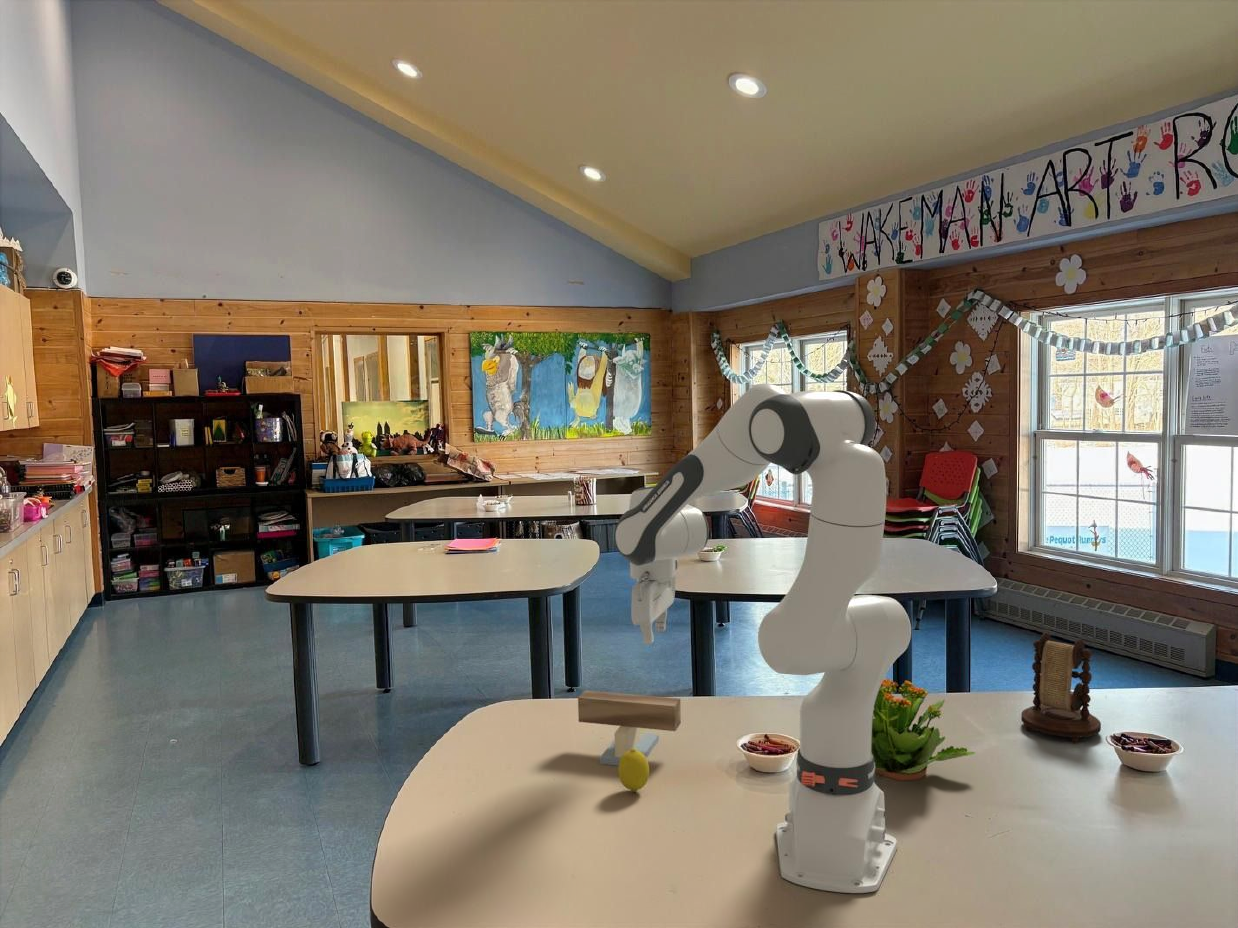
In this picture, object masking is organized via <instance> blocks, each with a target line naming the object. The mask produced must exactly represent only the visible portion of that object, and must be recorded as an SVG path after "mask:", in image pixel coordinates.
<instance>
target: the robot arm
mask: <svg viewBox="0 0 1238 928" xmlns="http://www.w3.org/2000/svg"><path fill="white" fill-rule="evenodd" d="M875 430H876V417H875V413H874V410H873V407H872V406H871V404H870V403H869V401H868V400H867V399H866V398H865V397H863V396H862V395H861V394H858V393H855V392H852V391H847V390H843V389H842V390H841V389H839V390H831V391H830V390H829V391H828V390H827V391H826V390H814V389H813V390H811V389H809V390H803V391H797V392H796V391H795V392H791V393H789V392H787V391H786V390H784V389H783V388H781V387H780V386H778V385H775V384H772V383H759V384H755V385H753V386H750V388H748V389H747V390H746V391H745V392H744V393H743V394H741V396H740V397H738V399H737V400H735V402H734V403H733V404H732V405H731V406H730V407H729V408H728V410H727V411H726V412H725V413H724V414H723V416H722V417H721V419H720V420H719V422H718V423H717V424H716V426H715V427H714V428H713V430H712V431H710V433H708V435H707V436H706V437H705V438H704V439H703V440H702V441H701V442H700V443H699V444H698V445H697V446H696V447H695V448H693V450H691V451H690V452H689V453H688V454H687V455H685V456H684V457H682V458H681V459H680V460H679V461H677V463H675V464H674V465H673V466H672V467H671V468H670V469H669V470H668V471H667V473H665V475H663V477H662V478H661V479H660V480H659V481H658V483H656V485H652V486H647V487H646V486H645V487H639V488H637V489H635V490H634V491H633V492H632V493H631V495H630V498H629V499H630V500H629V505H628V506H629V507H628V510H626V511H625V512H624V513H623V514H622V515H621V517H620V518H619V520H618V522H617V524H616V526H615V530H614V544H615V547H616V549H617V551H618V552H619V554H620V555H621V556H622V557H623V558H624V559H625V560H626V561H627V562H629V566H630V568H629V569H630V571H629V573H630V574H629V576H630V578H631V579H633V580H636V583H635V584H634V585H633V586H632V590H631V611H630V612H631V613H630V614H631V615H630V617H631V621H632V624H633V625H634V626H639V628H640V630H641V631H640V632H641V634H642V635H641V636H642V643H643V644H644V645H651V644H652V643H654V640H655V638H654V636H655V635H654V633H653V626H654V627H655V629H654V630H655V632H660V633H662V632H664V631H666V628H667V627H666V626H667V625H666V624H667V623H666V620H667V616H668V608H669V607H671V605H673V604H674V601H675V595H676V579H677V578H676V571H678V568H679V563H678V562H679V561H678V559H677V558H683V557H688V556H693V555H696V554H699V553H701V552H702V551H703V550H704V549H705V547H706V545H707V544H708V540H709V538H710V537H709V535H710V527H709V526H710V525H709V522H708V519H707V517H706V515H705V514H704V512H703V511H702V510H701V509H700V508H698V507H697V506H694V505H690V504H691V503H692V502H694V501H695V500H698V499H700V498H702V497H706V496H708V495H713V494H716V493H720V492H723V491H729V490H733V489H737V488H741V487H744V486H746V485H748V484H750V483H751V482H752V481H754V480H755V479H757V478H758V477H759V476H760V475H761V474H762V473H763V472H764V471H765V470H766V469H767V468H768V466H769V465H770V464H773V465H776V466H779V467H781V468H783V469H784V470H786V472H788V473H790V474H792V475H800V474H803V473H804V472H806V473H807V474H808V475H809V478H810V480H811V484H812V485H811V486H812V491H811V492H812V494H811V495H812V496H811V502H810V503H811V504H810V509H809V510H810V512H809V513H810V514H809V520H808V521H809V522H808V529H807V531H808V532H807V539H806V547H805V551H804V556H803V559H802V564H801V568H800V570H799V572H798V574H797V577H796V578H795V580H794V582H793V584H792V585H791V587H790V588H789V591H787V593H786V594H785V596H784V597H783V598H782V599H781V600H780V602H779V603H777V605H776V606H775V607H773V609H771V610H769V611H768V612H767V613H766V614H765V615H764V617H763V618H762V619H761V622H760V625H759V627H758V633H757V643H758V644H757V645H758V650H759V653H760V655H761V657H762V659H763V660H764V663H766V664H767V666H769V668H770V669H771V670H772V671H774V672H775V673H777V674H782V675H783V674H784V675H791V676H792V675H794V676H810V675H817V674H823V675H822V677H821V679H820V681H819V682H818V684H816V686H814V688H813V689H811V690H810V691H809V692H807V694H806V695H805V696H804V698H803V700H802V701H801V705H800V708H799V748H798V750H797V757H796V776H795V777H794V778H793V779H792V780H790V781H789V784H788V785H789V786H788V787H789V788H788V793H789V795H788V801H789V803H788V804H789V805H788V807H789V809H788V811H789V812H787V813H785V817H784V820H785V821H784V822H779V823H778V824H777V825H776V828H775V836H776V844H777V852H778V860H779V861H778V862H779V869H780V876H781V878H783V879H784V880H787V881H789V882H791V883H793V884H797V885H799V886H804V887H806V888H811V889H816V890H820V891H821V890H822V891H827V892H828V891H829V892H834V893H835V892H836V893H847V894H848V893H849V894H864V893H872V892H876V891H878V890H879V888H880V886H881V884H882V882H883V879H884V877H885V875H886V873H887V871H888V869H889V867H890V864H891V862H892V860H893V858H894V856H895V854H896V852H897V850H898V847H899V846H898V841H897V840H898V839H896V838H895V837H894V836H892V835H890V834H888V833H887V832H886V831H887V830H886V826H885V825H886V822H885V820H886V819H885V818H886V809H885V793H884V791H882V789H881V788H880V787H878V785H877V784H876V783H875V779H876V777H875V775H876V774H875V773H876V771H875V763H874V756H873V754H872V753H871V746H872V720H873V719H874V717H873V716H874V715H873V710H874V705H875V701H876V697H877V694H878V691H879V689H880V686H881V684H882V682H883V680H884V678H885V677H886V676H887V674H888V672H889V670H890V668H892V665H893V664H894V663H895V662H896V660H897V659H898V658H899V657H901V655H903V654H904V652H905V651H907V649H908V648H909V645H910V641H911V637H912V625H911V621H910V618H909V616H908V615H909V614H908V613H907V612H906V609H905V608H904V607H903V605H902V604H901V603H900V602H899V601H898V600H896V599H895V598H892V597H889V596H882V595H876V594H875V595H872V594H859V595H855V594H856V593H857V592H858V590H859V589H860V588H861V587H862V586H864V585H865V584H866V583H867V582H868V581H870V580H871V579H872V578H873V577H874V576H875V574H877V572H878V570H879V567H880V564H881V557H882V550H883V549H882V548H883V538H884V530H885V522H886V521H885V520H886V513H887V480H886V479H887V478H886V468H885V462H884V459H883V457H882V456H881V454H880V453H878V452H877V451H876V450H875V449H873V448H872V447H869V446H868V445H869V443H870V442H871V441H872V439H873V437H874V434H875ZM654 622H655V624H654V625H653V623H654Z"/></svg>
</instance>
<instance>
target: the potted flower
mask: <svg viewBox="0 0 1238 928" xmlns="http://www.w3.org/2000/svg"><path fill="white" fill-rule="evenodd" d="M903 682H904V683H902V684H901V685H900V686H901V687H898V686H899V684H898V683H897V682H896V681H893V680H890V679H889V678H888V677H887V678H885V677H884V680H883V682H882V684H881V686H880V689H879V691H878V694H877V697H876V701H875V705H874V710H873V720H872V746H871V753H872V754H873V756H874V763H875V773H878V774H879V775H881V776H883V777H885V778H888V779H892V780H895V781H896V780H897V781H898V780H899V781H910V780H919V779H920V778H922V777H924V776H925V775H926V773H927V769H928V765H929V764H931V763H933V762H935V761H938V762H941V761H947V760H951V759H957V758H961V757H965V756H969V755H970V756H971V755H975V754H976V752H975V751H968V749H967V748H966V747H960V748H959V747H955V748H954V745H950V746H949V747H946V748H941V750H940V751H937V754H936V755H933V754H934V753H935V751H936V749H937V747H938V746H939V745H940V744H942V743H943V742H944V741H945V738H946V736H942V737H940V735H941V733H940V729H939V727H936V728H935V726H932V727H929V724H930V723H931V721H932V720H934V719H935V718H938V719H941V717H940V716H941V715H942V709H941V708H942V707H943V705H944V704H945V701H946V699H945V698H944V699H942V700H939V701H937V702H936V703H934V704H929V705H928V707H927V709H926V710H925V712H923V715H919V717H918V720H917V723H913V721H914V720H915V718H916V717H917V715H918V712H919V710H920V707H921V705H922V704H923V703H924V701H925V699H926V697H927V696H928V694H929V693H930V691H928V690H927V689H925V688H923V687H917V686H914V684H913V683H912V682H910V681H909V680H904V681H903ZM897 687H898V692H899V693H900V695H901V696H902V698H896V697H895V695H894V693H893V692H895V693H896V692H897ZM927 720H928V722H927ZM925 722H927V723H926V725H924V726H922V725H923V724H924V723H925ZM911 726H912V727H911ZM921 726H922V727H921ZM910 727H911V729H910Z"/></svg>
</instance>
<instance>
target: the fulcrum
mask: <svg viewBox="0 0 1238 928" xmlns="http://www.w3.org/2000/svg"><path fill="white" fill-rule="evenodd" d="M659 738H660V737H659V734H656V733H645V728H636V727H626V726H618V728H617V730H615V732H614V739H613V741H612V742H611V743H610V745H609V746H608V747H607V748H606V750H604V752H603V753H602V754H601V755H600V756H599V764H602V765H609V766H618V767H619V762H620V759H621V757H622V756H623V754H625V753H626V752H627V751H630V750H631V749H635V750H638V751H640V752H641V753H643V754H644V755H645V757H646V759H647V758H648V757H649V755H650V754H651V752H652V750H653V749H654V748H655V746H656V745H657V743H658V742H659V740H660V739H659Z"/></svg>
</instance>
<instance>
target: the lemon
mask: <svg viewBox="0 0 1238 928" xmlns="http://www.w3.org/2000/svg"><path fill="white" fill-rule="evenodd" d="M649 777H650V766H649V761H648V759H647V758H646V757H645V755H644V754H643V753H641V752H640V751H638V750H635V749H631V750H630V751H627V752H626V753H625V754H623V756H622V757H621V759H620V762H619V766H618V778H619V781H620V783H621V785H623V787H625V788H626V789H628V790H629V791H631V792H632V793H636V792H637V791H639V790H641V789H642V788H643V787H645V785H646V784H647V783H648V780H649Z"/></svg>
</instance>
